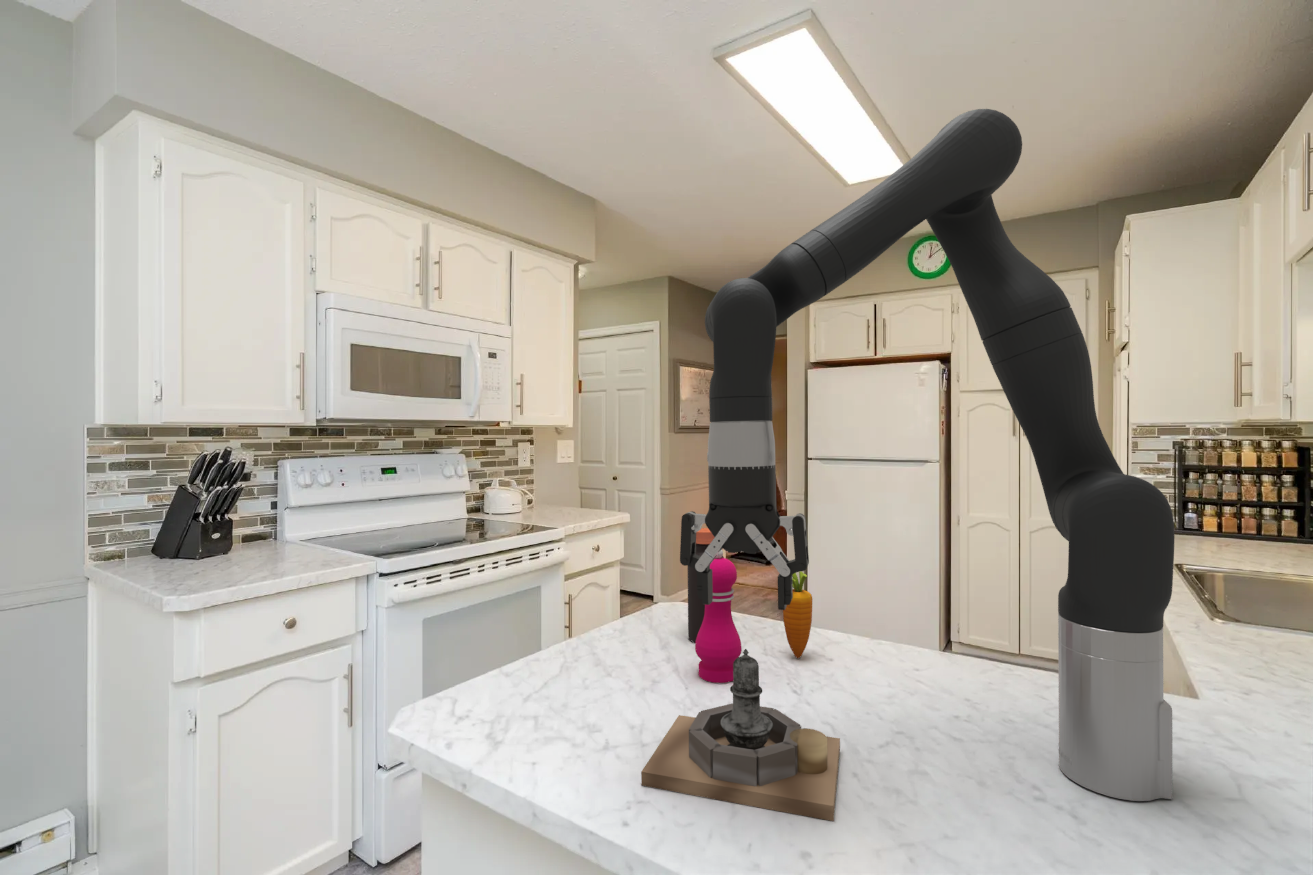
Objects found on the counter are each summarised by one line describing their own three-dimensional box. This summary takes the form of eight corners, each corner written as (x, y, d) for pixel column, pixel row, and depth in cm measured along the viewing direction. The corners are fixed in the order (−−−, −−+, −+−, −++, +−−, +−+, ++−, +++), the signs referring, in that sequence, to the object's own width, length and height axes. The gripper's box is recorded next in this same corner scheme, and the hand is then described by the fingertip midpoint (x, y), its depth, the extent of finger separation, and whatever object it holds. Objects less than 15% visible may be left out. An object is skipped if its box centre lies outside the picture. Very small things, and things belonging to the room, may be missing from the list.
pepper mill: (749, 672, 98) (748, 545, 98) (729, 688, 92) (728, 553, 92) (708, 663, 102) (707, 541, 102) (687, 678, 96) (685, 549, 96)
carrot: (816, 663, 101) (815, 572, 101) (786, 663, 101) (785, 572, 101) (809, 652, 106) (808, 565, 106) (780, 652, 106) (779, 565, 106)
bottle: (686, 644, 111) (684, 532, 111) (690, 631, 118) (689, 527, 118) (724, 645, 110) (722, 533, 110) (726, 633, 117) (725, 527, 117)
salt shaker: (772, 770, 67) (771, 660, 67) (718, 765, 68) (716, 656, 68) (773, 743, 73) (772, 641, 73) (723, 738, 74) (722, 638, 74)
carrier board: (840, 750, 74) (839, 713, 74) (833, 821, 61) (833, 775, 61) (679, 726, 80) (678, 691, 80) (641, 785, 67) (641, 743, 67)
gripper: (809, 460, 71) (811, 601, 71) (689, 460, 76) (692, 593, 76) (802, 463, 64) (805, 620, 64) (671, 464, 69) (674, 610, 69)
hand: (744, 605), depth 70 cm, fingers open, 8 cm apart
